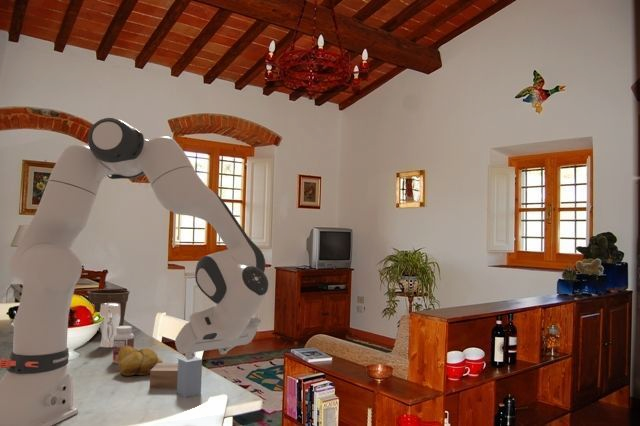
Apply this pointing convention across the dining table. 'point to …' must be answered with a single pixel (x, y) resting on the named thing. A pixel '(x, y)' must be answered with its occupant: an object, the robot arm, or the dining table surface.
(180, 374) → the slate block
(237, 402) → the dining table surface
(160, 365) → the walnut block
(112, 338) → the beer glass
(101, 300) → the plant pot
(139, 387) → the dining table surface
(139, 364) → the bread roll
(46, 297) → the robot arm
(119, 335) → the pill bottle
